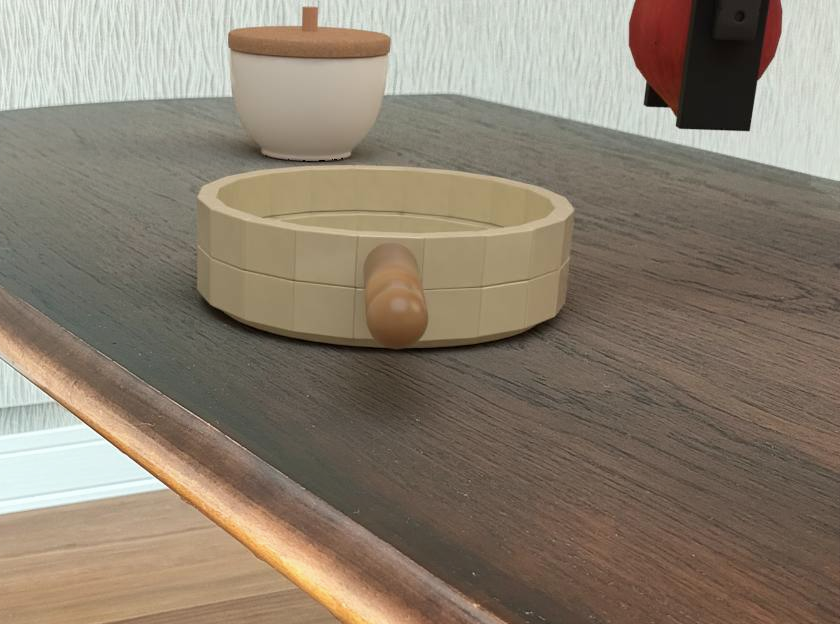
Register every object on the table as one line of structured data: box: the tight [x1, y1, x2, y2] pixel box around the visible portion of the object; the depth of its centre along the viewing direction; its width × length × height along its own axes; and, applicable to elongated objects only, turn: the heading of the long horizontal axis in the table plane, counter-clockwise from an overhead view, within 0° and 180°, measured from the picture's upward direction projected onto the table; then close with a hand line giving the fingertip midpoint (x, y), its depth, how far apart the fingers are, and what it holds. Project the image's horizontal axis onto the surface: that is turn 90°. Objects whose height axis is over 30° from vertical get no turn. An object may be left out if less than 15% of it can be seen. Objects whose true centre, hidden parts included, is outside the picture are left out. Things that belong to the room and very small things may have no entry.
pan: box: [196, 164, 576, 349], centre depth 62 cm, size 16×16×4 cm
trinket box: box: [227, 5, 392, 162], centre depth 96 cm, size 11×11×9 cm
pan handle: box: [363, 243, 428, 350], centre depth 50 cm, size 2×9×2 cm, turn 178°
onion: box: [628, 0, 783, 118], centre depth 58 cm, size 6×6×8 cm
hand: (693, 116), depth 59 cm, fingers closed on onion, 6 cm apart
